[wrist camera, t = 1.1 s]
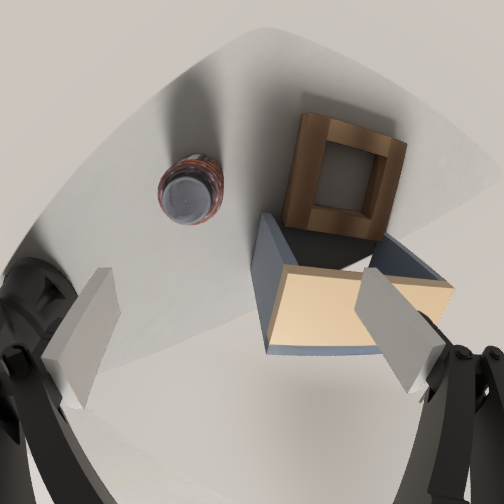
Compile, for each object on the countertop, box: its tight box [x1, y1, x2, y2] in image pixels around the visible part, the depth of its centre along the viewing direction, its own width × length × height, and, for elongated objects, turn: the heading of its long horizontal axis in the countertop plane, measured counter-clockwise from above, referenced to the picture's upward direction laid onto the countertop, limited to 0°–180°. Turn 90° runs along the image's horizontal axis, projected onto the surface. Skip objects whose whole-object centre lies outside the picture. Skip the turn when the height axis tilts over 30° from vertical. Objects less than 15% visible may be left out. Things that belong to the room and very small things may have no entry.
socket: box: [281, 113, 407, 242], centre depth 33 cm, size 13×13×3 cm
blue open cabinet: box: [250, 212, 455, 356], centre depth 31 cm, size 18×8×16 cm, turn 80°
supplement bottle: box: [158, 154, 224, 225], centre depth 27 cm, size 6×6×11 cm
